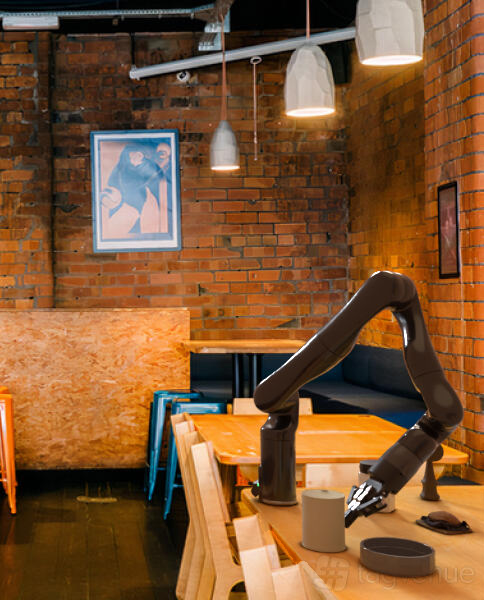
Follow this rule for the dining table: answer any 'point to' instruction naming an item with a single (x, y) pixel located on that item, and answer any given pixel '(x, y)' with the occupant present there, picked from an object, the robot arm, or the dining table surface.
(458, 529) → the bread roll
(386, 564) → the pan
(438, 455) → the kendama
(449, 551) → the dining table surface
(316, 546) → the can
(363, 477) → the jar
